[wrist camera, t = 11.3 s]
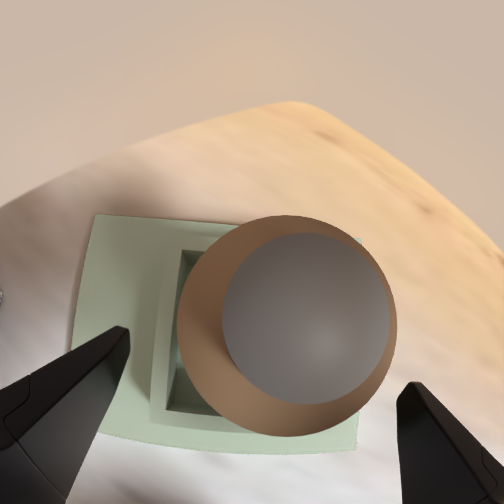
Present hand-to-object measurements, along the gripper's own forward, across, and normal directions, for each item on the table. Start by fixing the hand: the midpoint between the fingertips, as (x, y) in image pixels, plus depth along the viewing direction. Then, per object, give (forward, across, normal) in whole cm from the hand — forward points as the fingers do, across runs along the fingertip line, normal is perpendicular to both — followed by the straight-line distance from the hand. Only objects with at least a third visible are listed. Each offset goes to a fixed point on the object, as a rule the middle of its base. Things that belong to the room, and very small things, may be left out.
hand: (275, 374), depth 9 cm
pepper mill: (+7, 0, +5) cm, 9 cm away
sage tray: (+8, +2, +6) cm, 11 cm away
